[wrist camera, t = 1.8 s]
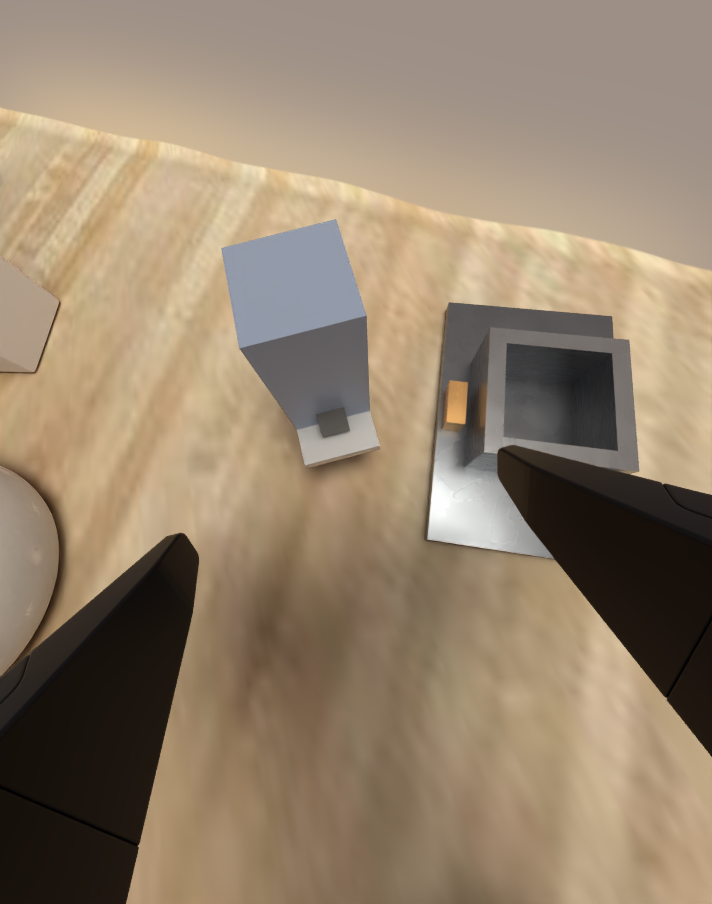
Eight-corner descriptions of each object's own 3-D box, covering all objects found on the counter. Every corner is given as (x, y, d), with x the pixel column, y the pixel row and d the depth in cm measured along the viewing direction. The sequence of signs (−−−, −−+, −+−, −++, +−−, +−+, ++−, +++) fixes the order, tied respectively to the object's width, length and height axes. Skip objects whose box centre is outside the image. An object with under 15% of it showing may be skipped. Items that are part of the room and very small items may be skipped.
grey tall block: (378, 463, 23) (384, 372, 10) (317, 479, 23) (249, 407, 10) (348, 356, 25) (323, 177, 13) (293, 370, 25) (213, 205, 13)
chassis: (615, 568, 20) (690, 577, 15) (425, 539, 21) (439, 539, 17) (602, 324, 25) (658, 273, 20) (446, 311, 26) (462, 259, 21)
